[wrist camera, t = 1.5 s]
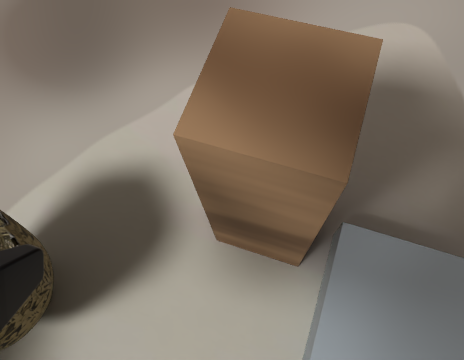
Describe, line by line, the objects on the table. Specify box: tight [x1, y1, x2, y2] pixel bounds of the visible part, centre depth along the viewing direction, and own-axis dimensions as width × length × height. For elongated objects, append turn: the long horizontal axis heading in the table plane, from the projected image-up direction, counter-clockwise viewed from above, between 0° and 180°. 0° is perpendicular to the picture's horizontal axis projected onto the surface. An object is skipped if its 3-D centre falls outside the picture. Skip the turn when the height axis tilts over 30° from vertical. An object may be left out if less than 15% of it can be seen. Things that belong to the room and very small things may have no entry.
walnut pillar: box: [173, 7, 383, 266], centre depth 17 cm, size 5×5×13 cm
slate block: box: [303, 222, 464, 360], centre depth 20 cm, size 8×8×3 cm
